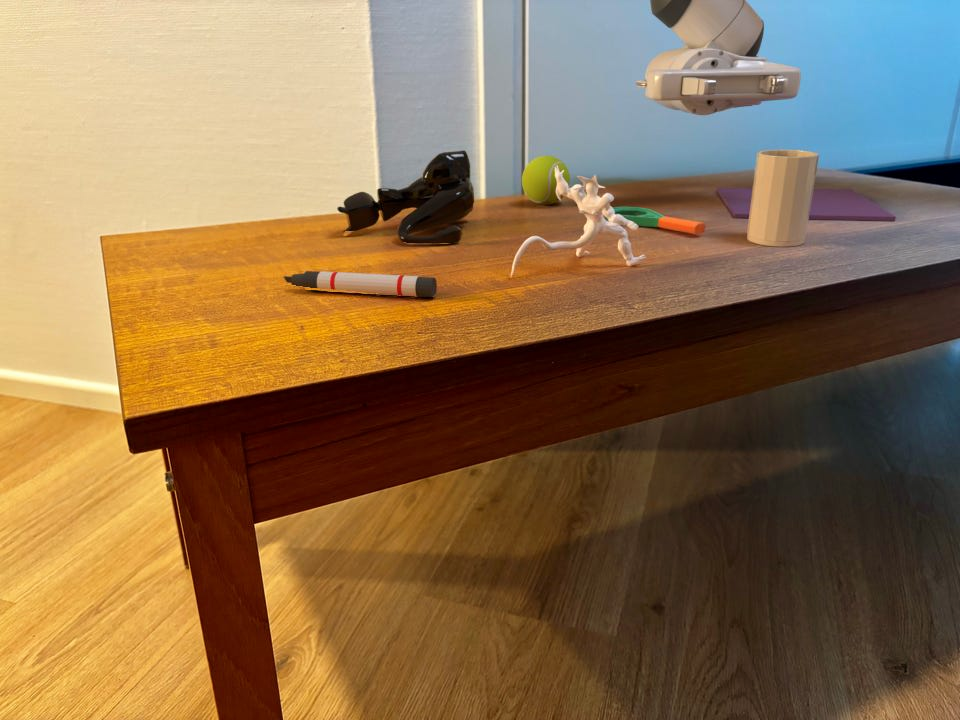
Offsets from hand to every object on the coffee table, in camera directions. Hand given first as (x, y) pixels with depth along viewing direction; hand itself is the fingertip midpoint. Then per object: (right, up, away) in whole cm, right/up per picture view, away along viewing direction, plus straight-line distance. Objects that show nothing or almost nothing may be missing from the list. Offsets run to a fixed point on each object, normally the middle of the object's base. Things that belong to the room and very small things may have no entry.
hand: (746, 86), depth 92 cm
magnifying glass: (-11, -17, +3) cm, 21 cm away
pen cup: (+2, -20, -5) cm, 21 cm away
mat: (+12, -12, +14) cm, 22 cm away
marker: (-45, -28, -21) cm, 57 cm away
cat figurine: (-41, -19, +1) cm, 45 cm away
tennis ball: (-24, -11, +17) cm, 31 cm away
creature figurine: (-23, -25, -15) cm, 37 cm away
